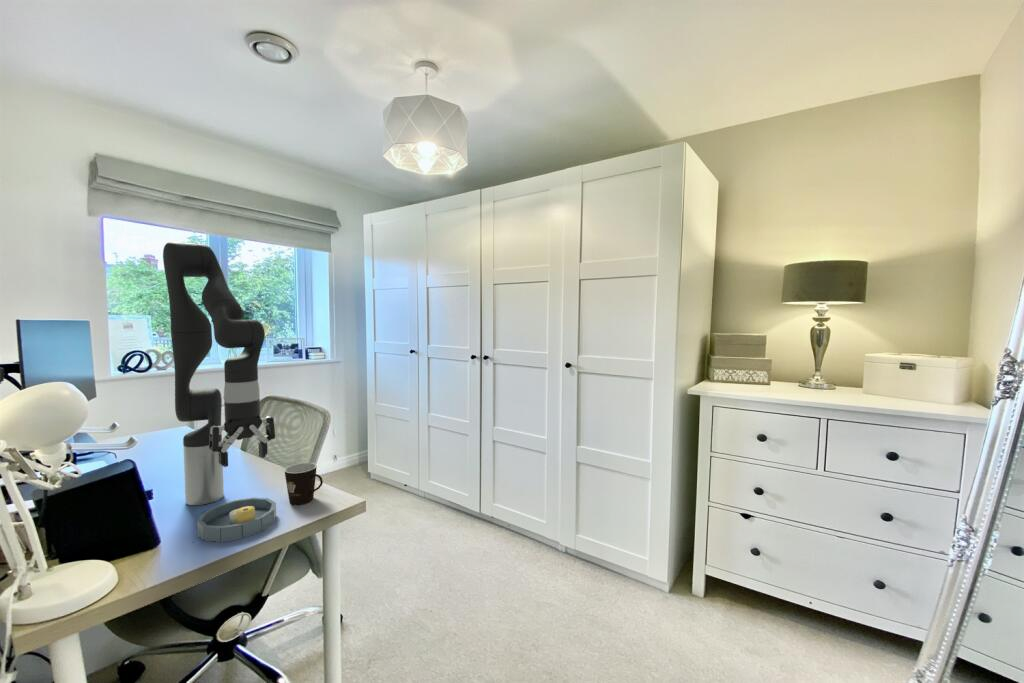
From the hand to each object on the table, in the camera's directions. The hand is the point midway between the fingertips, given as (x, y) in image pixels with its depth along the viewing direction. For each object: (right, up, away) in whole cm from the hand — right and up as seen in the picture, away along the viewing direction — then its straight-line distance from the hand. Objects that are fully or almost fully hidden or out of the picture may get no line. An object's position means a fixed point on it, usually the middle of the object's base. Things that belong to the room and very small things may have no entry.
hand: (244, 461), depth 106 cm
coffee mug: (+6, -17, +17) cm, 25 cm away
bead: (0, -17, +1) cm, 17 cm away
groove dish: (-4, -18, +4) cm, 19 cm away
